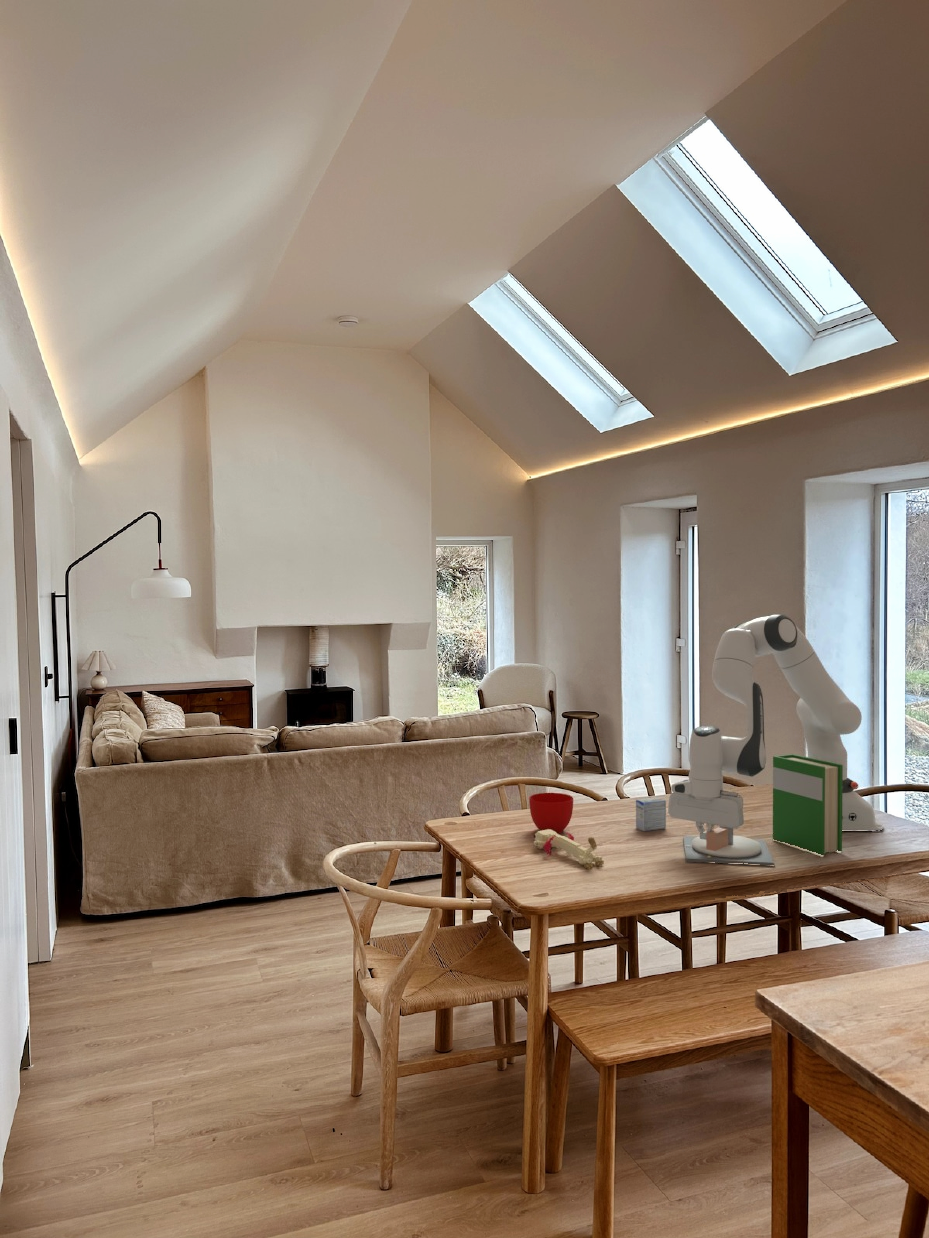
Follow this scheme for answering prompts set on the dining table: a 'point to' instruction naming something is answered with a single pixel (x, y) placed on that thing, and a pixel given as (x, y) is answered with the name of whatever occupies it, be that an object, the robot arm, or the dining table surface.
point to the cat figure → (568, 847)
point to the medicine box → (650, 814)
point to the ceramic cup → (551, 811)
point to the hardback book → (807, 803)
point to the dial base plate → (696, 856)
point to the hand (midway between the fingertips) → (705, 839)
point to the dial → (726, 844)
